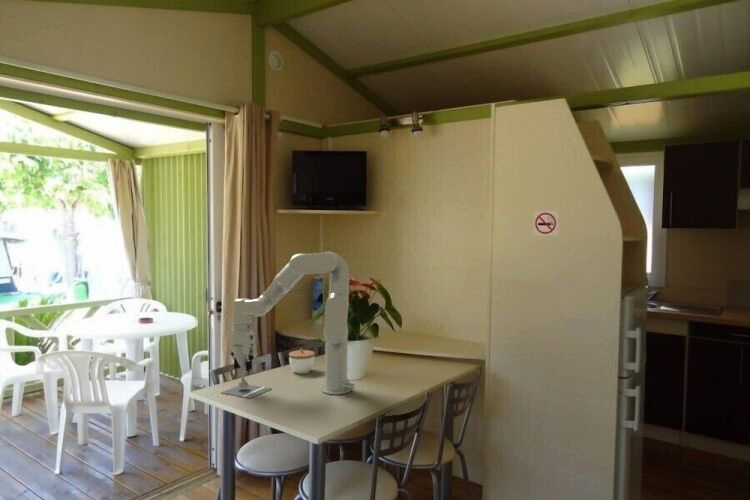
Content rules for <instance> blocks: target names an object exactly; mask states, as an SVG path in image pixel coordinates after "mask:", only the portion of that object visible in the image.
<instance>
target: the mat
mask: <svg viewBox="0 0 750 500" xmlns="http://www.w3.org/2000/svg"><path fill="white" fill-rule="evenodd" d="M248 385H249V386H248V387H245V388H238V387H237V385H236V386H233V387H231V388H229V389H226V390H223V391H222V392H220V394H223V395H228V396H233V397H238V398H244V399H249V400H250V399H254V398H255V397H257V396H261V395H262V394H264V393H266V392H269V391H271V390H273V388H270V387H266V386H260V385H259V386H258V385H253V384H248Z"/></svg>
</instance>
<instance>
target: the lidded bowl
mask: <svg viewBox="0 0 750 500" xmlns="http://www.w3.org/2000/svg"><path fill="white" fill-rule="evenodd" d="M315 356H316V352H315V351H314V350H307V349H303V348H301V349H299V350H294V351H290V352H289V353H288V357H289V360H288V361H289V365H290V368H291V369H292V370H293V371H294V373H295V374H300V375H301V374H302V375H303V374H308V373H309V372H310V371H312V369H313V367H314V366H315V360H316V357H315Z"/></svg>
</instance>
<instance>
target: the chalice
mask: <svg viewBox="0 0 750 500" xmlns="http://www.w3.org/2000/svg"><path fill="white" fill-rule="evenodd" d="M243 347H244V346H235V357H236V360H237V362H238V364H239V365H240V368H241V370H240V371H241V374H240V376H241V379H240V380H239V381H238V383H237V385H236V386H237V387H238V388H245V387H248V386H249V385H250V384H249V382H248V380H247V379H245V375H246V374H245V371H246V369H245V367H246V361H247V359H246V355H245V354H244V353H243Z"/></svg>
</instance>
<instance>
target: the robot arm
mask: <svg viewBox="0 0 750 500" xmlns="http://www.w3.org/2000/svg"><path fill="white" fill-rule="evenodd" d="M327 273H328V274H329V282H328V283H329V284H328V285H329V287H328V297H327V299H326V302H325V306H324V319H323V337H324V339H325V345H324V346H325V347H324V348H325V349H324V351H325V354H324V355H325V358H324V359H325V362H324V363H325V368H324V369H325V373H324V374H325V378H324V379H325V384H324V385H323V386H322V388H321V392H322V393H325V394H327V395H344V394H347V393H350V392H351V391H352V390H354V391H355V389H356V384H355V383H351V381H350V380H351V379H348V378H349V377H348V350H349V349H348V345H349V344H348V343H349V342H348V338H349V328H348V318H349V317H348V316H349V315H348V314H349V307H350V300H349V295H350V292H349V291H350V270H349V267H348V264H347V262H346V261H345V259H343V257H341V256H340V255H339V254H338V253H335V252H333V251H325V252H317V253H304V252H300V253H296V254H294V255H293V256H291V258H290V260H289V261H288V263H287V264H286V265H285V266H284V267H283V268H282V269H281V270H280V271H279V272H278V273H277V274H276V275H275V276H274V278H273V279H272V282H271V284H269V286H268V287H267V289H266V290H264V292H262V294H260V295H259V297H257V298H255V299H250V298H246V297H242V298H241V297H239V298H235V299H234V300H233V302H232V306H233V307H232V308H233V309H232V311H233V314H232V316H233V318H232V320H233V323H232V324H233V327H232V328H233V330H232V332H231V339H230V346H229V348H228V349H227V350H228V352H229V354H230V356H231V357H232V360H233V369H234V370H237V369H239V368H241V366H240V365H239V364H238V362H237V360H236V357H235V346H244V347H243V353H244V354H245V355H246V359H247V361H246V365H245V371H247V372H248V371H251V370H253V362H252V361H253V360H254V358H255V357H257V355H258V351H257V350H256V349H257V348H256V338H255V332H254V330H252V329H254V326H253V325H252V324H253V323H252V321H253V319H252V318H253V317H256V318H257V317H259V318H260V317H264V316H265V315H266V314H267V313H268V312H269V311H271V310H272V309H273V307H274V306H276V305H277V303H278V302H279V301H280V300H281V299H282V298H283V297H284V296H285V295H286V294H287V293H289V291H291V289H293V287H294V286H295V285H296V284H298V283H299V281H300V280H301V279H302V278H303V277H304V276H305V275H317V274H319V275H320V274H327Z"/></svg>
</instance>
